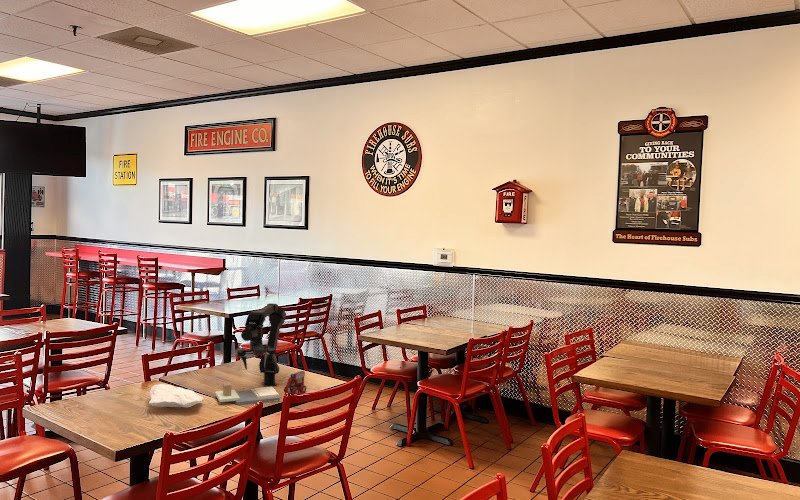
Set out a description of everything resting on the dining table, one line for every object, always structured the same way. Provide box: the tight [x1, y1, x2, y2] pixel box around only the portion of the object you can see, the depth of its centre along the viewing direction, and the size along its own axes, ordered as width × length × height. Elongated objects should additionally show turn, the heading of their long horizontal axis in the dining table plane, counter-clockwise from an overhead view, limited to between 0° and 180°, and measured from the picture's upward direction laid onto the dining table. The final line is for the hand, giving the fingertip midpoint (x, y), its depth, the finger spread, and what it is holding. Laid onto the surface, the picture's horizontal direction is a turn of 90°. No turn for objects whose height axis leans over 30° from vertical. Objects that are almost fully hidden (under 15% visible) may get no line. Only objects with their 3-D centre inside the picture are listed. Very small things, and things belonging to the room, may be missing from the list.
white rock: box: [148, 383, 205, 408], centre depth 280 cm, size 24×35×9 cm
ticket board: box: [233, 386, 281, 406], centre depth 297 cm, size 18×20×3 cm
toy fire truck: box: [283, 370, 307, 395], centre depth 306 cm, size 7×12×10 cm, turn 148°
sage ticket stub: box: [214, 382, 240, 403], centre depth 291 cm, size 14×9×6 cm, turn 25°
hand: (255, 368), depth 304 cm, fingers open, 9 cm apart
